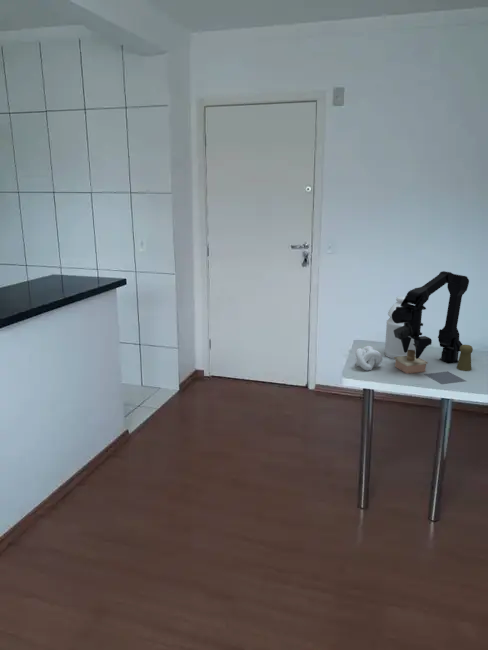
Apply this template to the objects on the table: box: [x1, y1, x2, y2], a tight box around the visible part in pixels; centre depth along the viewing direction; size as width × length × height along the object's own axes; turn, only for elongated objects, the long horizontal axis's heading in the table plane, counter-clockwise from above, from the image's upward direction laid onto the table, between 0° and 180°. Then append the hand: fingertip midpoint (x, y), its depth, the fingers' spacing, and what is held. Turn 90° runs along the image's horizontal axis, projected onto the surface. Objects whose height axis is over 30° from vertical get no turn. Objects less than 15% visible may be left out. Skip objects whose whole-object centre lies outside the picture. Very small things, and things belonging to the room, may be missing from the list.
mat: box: [423, 371, 467, 385], centre depth 216 cm, size 12×12×1 cm
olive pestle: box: [456, 344, 474, 372], centre depth 225 cm, size 6×6×11 cm
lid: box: [393, 349, 429, 366], centre depth 224 cm, size 10×10×5 cm
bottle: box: [384, 295, 416, 360], centre depth 242 cm, size 14×14×28 cm
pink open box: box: [394, 360, 427, 375], centre depth 225 cm, size 9×9×4 cm
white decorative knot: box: [355, 345, 383, 372], centre depth 228 cm, size 11×12×9 cm
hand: (411, 355), depth 224 cm, fingers open, 8 cm apart
